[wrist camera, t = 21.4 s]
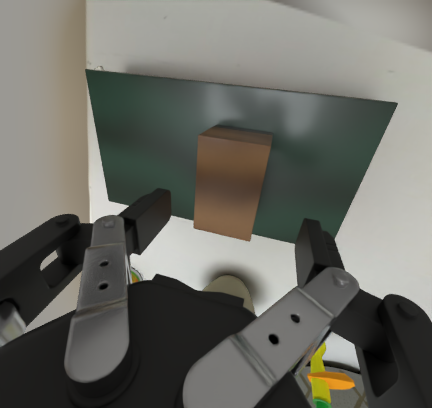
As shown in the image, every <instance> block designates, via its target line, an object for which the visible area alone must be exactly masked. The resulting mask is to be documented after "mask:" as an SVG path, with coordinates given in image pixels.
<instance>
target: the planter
mask: <svg viewBox="0 0 432 408" xmlns="http://www.w3.org/2000/svg"><path fill="white" fill-rule="evenodd" d="M324 367H325V366H324ZM325 371H328V372H338V373H345V374H346V375H347V376H349V377H350V378H351V379H352V380H354V384H355V386H354V387H352V388H350V389H344V390H339V389H329V391H330V398H331V403H330V405H331V406H332V408H368V403H367V399H366V394H365V390H364V385H363V381H362V376H361V374H356V373H353V372H350V371H346V370H343V369H339V368H333V367H325ZM308 373H311V366H310V367H305V368H304V369H303V370H302V372H301V373H300V374H299V376H298V377H297V378H296V381H297V382H298V384H299V386H300V388H301V389H302V391H303V393H304V395H305V396H306V398H307V400H308V402H309V403H310V405H311V407H312V408H316V405H315V404H314V403H313V395H312V386H311V382H309V379H308V377H307V374H308Z"/></svg>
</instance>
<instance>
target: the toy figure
mask: <svg viewBox="0 0 432 408" xmlns="http://www.w3.org/2000/svg"><path fill="white" fill-rule="evenodd" d="M325 351H326V345H325V342H324V343H323V344H322V346H321V347H320V348H319V349H318V351H317V352H316V353H315V354H314V355H313V357H312V358H311V373H308V374H307V377H308V379H309V382H311V386H312V395H313V403H314V404H315V405H316V408H332V406H331V405H330V403H331V398H330V391H329V389H339V390H344V389H350V388H352V387H354V386H355V384H354V380H352V379H351V378H350V377H349V376H347V375H346V374H345V373H338V372H328V371H325V367H324V364H323V360H322V356H323V355H324V353H325Z"/></svg>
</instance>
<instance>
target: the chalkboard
mask: <svg viewBox="0 0 432 408" xmlns="http://www.w3.org/2000/svg"><path fill="white" fill-rule="evenodd" d="M85 72H86V77H87V83H88V88H89V94H90V99H91V105H92V110H93V116H94V122H95V127H96V133H97V138H98V144H99V149H100V155H101V160H102V166H103V171H104V177H105V182H106V188H107V194H108V199H109V201H111V202H116V203H120V204H124V205H129V206H130V205H131V204H132V203H134V202H136V200H137V199H139V198H140V197H142V196H144V195H147V194H151V193H152V192H153V191H154V190H155V189H157V188H161V189H166V190H170V192H171V215H172V216H176V217H181V218H185V219H189V220H194V208H195V189H196V169H197V149H198V135H199V134H201V133H203V132H204V131H206V130H208V129H210V128H211V127H213V126H215V125H223V126H230V127H237V128H244V129H251V130H258V131H265V132H272V133H273V137H272V143H271V149H270V153H269V158H268V162H267V167H266V172H265V176H264V181H263V185H262V190H261V194H260V199H259V203H258V208H257V212H256V217H255V221H254V226H253V230H252V234H254V235H259V236H263V237H267V238H271V239H276V240H280V241H284V242H289V243H293V244H295V243H296V239H297V237H298V234H299V231H300V228H301V225H302V222H303V220H304V218H308V219H313V220H318V221H320V224H321V228H322V231H327V232H329V233H330V234H331V236H332V237H333V238H334V239H335V237H336V235H337V233H338V231H339V229H340V226H341V224H342V222H343V220H344V218H345V216H346V214H347V211H348V209H349V207H350V205H351V203H352V201H353V199H354V197H355V194H356V192H357V190H358V188H359V186H360V184H361V182H362V179H363V177H364V175H365V173H366V171H367V169H368V167H369V165H370V162H371V160H372V158H373V156H374V154H375V152H376V150H377V147H378V145H379V143H380V141H381V139H382V137H383V135H384V133H385V130H386V128H387V126H388V124H389V122H390V120H391V118H392V115H393V113H394V111H395V109H396V107H397V105H398V103H396V102H388V101H380V100H372V99H363V98H354V97H345V96H335V95H326V94H317V93H307V92H298V91H289V90H279V89H270V88H261V87H251V86H242V85H233V84H223V83H214V82H205V81H195V80H186V79H177V78H168V77H158V76H149V75H140V74H130V73H120V72H110V71H100V70H90V69H85Z"/></svg>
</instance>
